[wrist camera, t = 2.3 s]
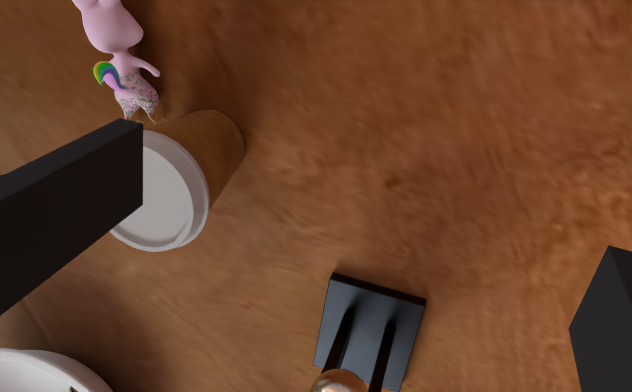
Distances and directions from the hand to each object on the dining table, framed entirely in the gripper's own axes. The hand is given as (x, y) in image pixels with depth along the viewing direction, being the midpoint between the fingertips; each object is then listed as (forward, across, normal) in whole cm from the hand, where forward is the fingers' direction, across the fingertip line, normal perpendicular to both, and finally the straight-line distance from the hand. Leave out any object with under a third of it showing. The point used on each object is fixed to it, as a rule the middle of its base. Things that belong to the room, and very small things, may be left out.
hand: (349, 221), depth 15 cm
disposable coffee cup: (+29, -17, -12) cm, 36 cm away
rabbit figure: (+29, -25, -5) cm, 39 cm away
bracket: (+29, 0, -28) cm, 40 cm away
